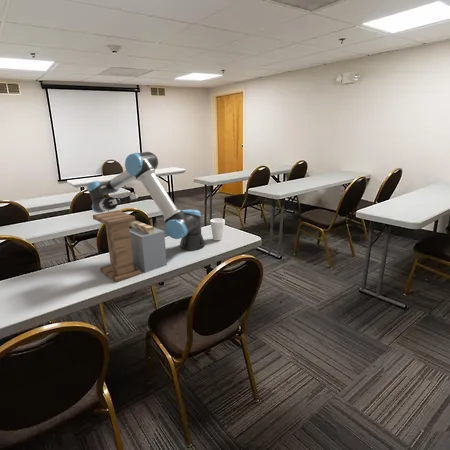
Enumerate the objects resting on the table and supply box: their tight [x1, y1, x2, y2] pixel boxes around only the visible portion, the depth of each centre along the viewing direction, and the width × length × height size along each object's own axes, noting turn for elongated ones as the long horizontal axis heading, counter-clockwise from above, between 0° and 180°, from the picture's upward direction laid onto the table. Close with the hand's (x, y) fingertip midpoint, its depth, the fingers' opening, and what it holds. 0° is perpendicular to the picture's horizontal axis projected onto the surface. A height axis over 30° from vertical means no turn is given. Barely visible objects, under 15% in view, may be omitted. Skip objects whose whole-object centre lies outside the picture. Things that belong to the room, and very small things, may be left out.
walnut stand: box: [92, 209, 142, 283], centre depth 157 cm, size 18×13×30 cm
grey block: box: [129, 227, 168, 273], centre depth 169 cm, size 18×13×19 cm
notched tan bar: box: [129, 219, 155, 234], centre depth 169 cm, size 24×3×3 cm, turn 44°
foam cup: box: [209, 217, 226, 241], centre depth 206 cm, size 10×9×13 cm
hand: (126, 198), depth 177 cm, fingers open, 13 cm apart
